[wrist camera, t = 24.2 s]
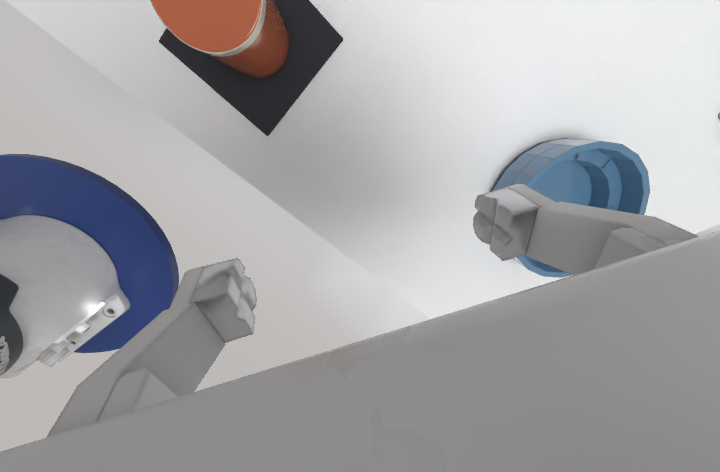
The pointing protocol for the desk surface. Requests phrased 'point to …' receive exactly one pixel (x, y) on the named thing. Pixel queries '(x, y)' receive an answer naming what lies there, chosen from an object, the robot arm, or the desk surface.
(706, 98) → the desk surface
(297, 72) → the mat
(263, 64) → the canister
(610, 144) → the bowl
